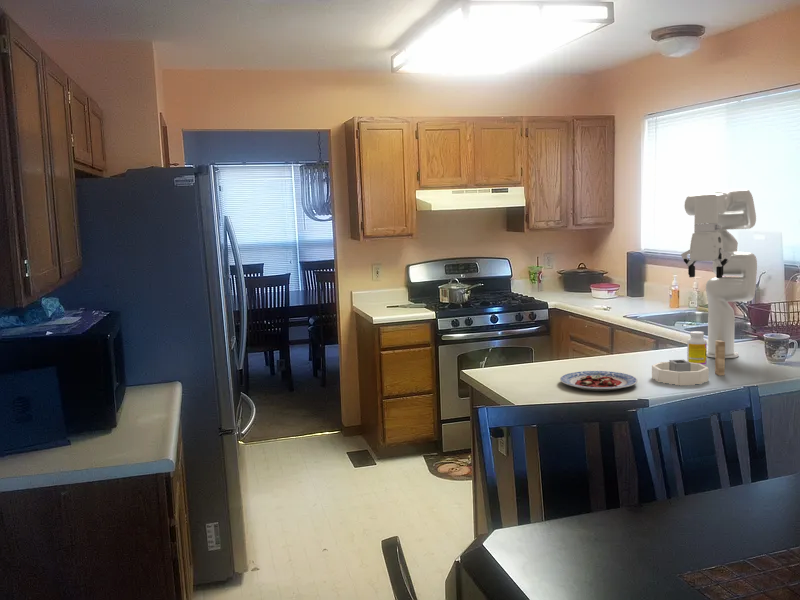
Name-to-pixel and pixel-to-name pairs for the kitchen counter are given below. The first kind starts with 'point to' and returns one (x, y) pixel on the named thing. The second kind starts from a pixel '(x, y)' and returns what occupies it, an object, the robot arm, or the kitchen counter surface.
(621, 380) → the ceramic plate
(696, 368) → the shallow round tray
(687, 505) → the kitchen counter surface
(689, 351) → the supplement bottle
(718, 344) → the wooden block
